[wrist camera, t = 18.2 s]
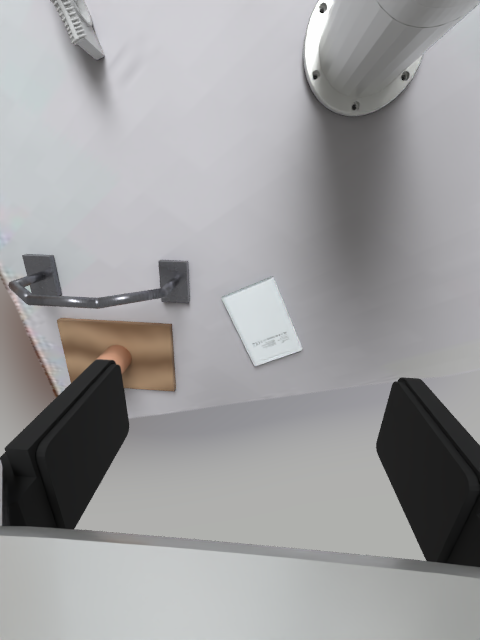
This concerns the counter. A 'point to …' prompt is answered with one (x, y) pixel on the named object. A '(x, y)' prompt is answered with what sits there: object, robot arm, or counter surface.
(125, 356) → the peach domed cylinder
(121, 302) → the grey cabinet handle
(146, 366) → the walnut board
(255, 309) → the external hard drive
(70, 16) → the garden wall model
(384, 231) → the counter surface
